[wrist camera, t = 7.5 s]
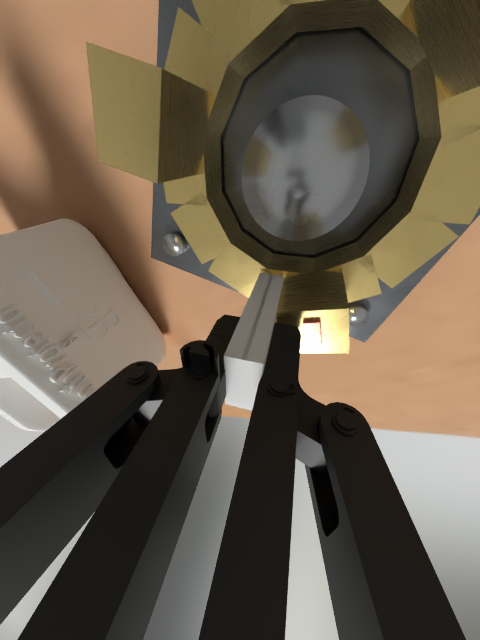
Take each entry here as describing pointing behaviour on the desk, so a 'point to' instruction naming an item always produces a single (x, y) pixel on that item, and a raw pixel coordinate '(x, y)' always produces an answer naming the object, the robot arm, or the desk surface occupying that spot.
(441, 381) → the desk surface
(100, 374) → the cable organizer
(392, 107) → the flange
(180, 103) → the ring nut
